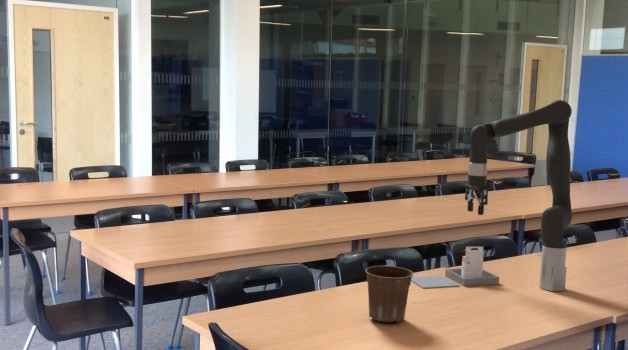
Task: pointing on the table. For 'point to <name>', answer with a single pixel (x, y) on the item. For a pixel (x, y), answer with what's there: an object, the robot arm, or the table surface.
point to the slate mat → (433, 281)
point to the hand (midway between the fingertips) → (475, 213)
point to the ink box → (472, 262)
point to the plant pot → (388, 292)
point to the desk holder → (484, 280)
